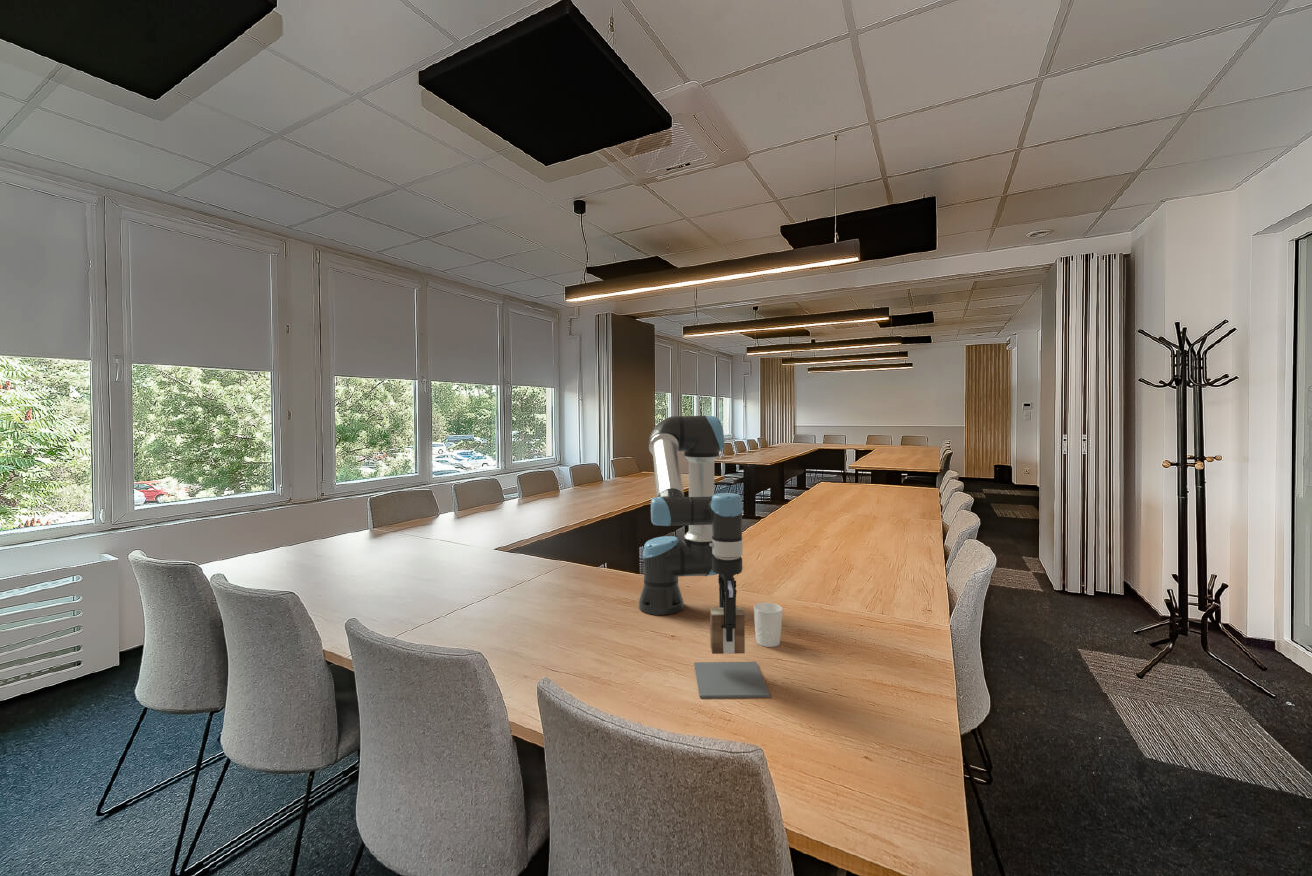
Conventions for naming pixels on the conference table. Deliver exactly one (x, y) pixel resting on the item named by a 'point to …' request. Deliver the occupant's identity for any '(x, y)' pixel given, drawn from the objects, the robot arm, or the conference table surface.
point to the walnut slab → (717, 631)
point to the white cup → (768, 624)
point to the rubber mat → (730, 680)
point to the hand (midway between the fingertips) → (727, 648)
